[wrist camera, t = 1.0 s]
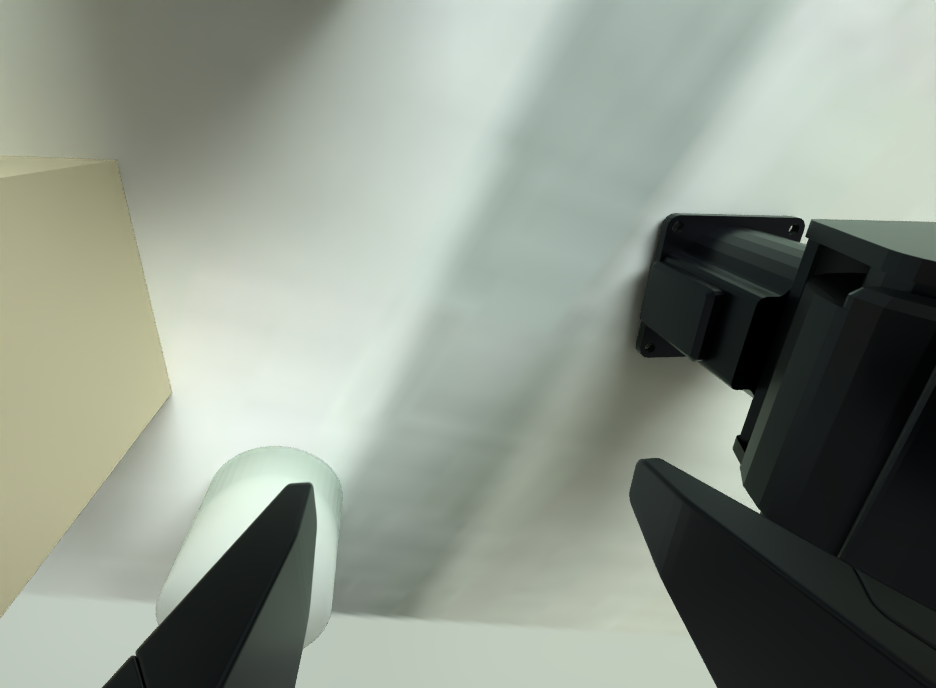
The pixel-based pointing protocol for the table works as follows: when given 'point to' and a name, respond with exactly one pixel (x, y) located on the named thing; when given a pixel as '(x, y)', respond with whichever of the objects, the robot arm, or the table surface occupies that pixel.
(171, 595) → the white rounded cylinder
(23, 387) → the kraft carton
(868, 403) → the robot arm
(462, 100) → the table surface
